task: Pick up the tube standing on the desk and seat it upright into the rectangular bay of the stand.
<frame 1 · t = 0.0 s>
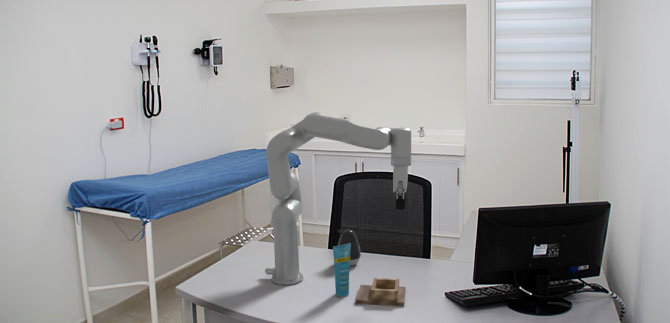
hand: (400, 205, 209), 31 cm above the table, tool pointing down, fingers open, 9 cm apart
tube stand: (381, 297, 203), on the table
dark grey egg-shaped piece: (348, 264, 238), on the table
tube: (342, 294, 206), on the table
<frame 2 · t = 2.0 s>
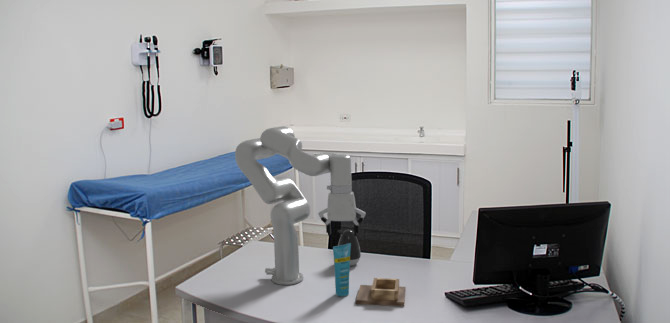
hand: (342, 234, 202), 23 cm above the table, tool pointing down, fingers open, 9 cm apart
nothing on the table moved.
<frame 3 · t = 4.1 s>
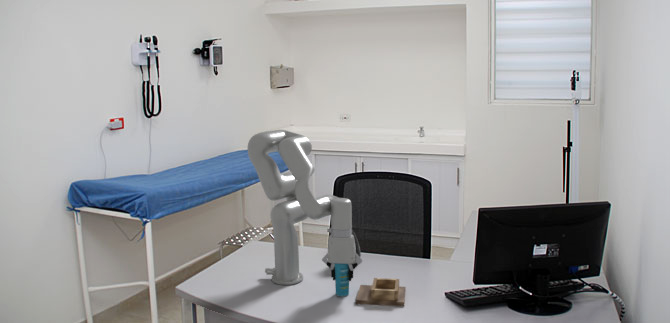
hand: (342, 278, 205), 6 cm above the table, tool pointing down, fingers closed on tube, 5 cm apart
tube: (342, 294, 206), on the table, touching gripper
everything else where it was.
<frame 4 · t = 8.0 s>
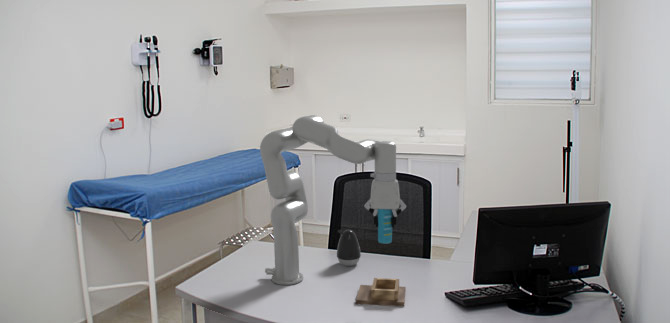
hand: (385, 226, 198), 27 cm above the table, tool pointing down, fingers closed on tube, 5 cm apart
tube: (385, 242, 199), point 21 cm above the table, touching gripper
everything else where it was.
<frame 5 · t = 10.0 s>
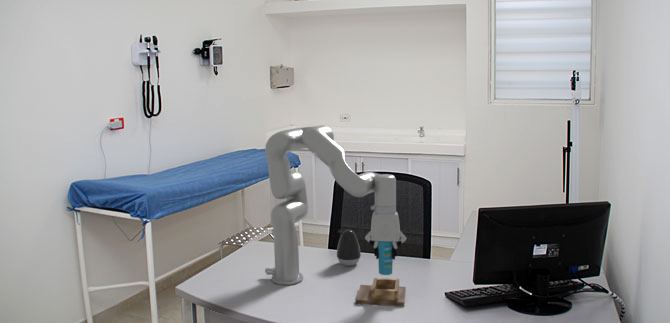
hand: (385, 257, 200), 15 cm above the table, tool pointing down, fingers closed on tube, 5 cm apart
tube: (385, 273, 201), point 9 cm above the table, touching gripper
everything else where it was.
when the fingers open (8 cm above the table, at t = 11.8 s): tube stays where it is, resting on tube stand.
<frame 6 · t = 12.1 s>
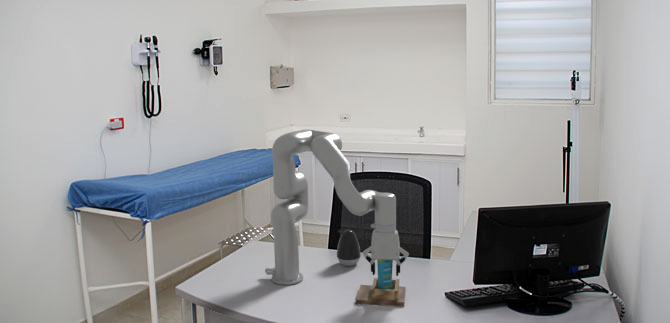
hand: (385, 273, 201), 9 cm above the table, tool pointing down, fingers open, 8 cm apart
tube: (385, 293, 203), point 1 cm above the table, touching tube stand
everything else where it was.
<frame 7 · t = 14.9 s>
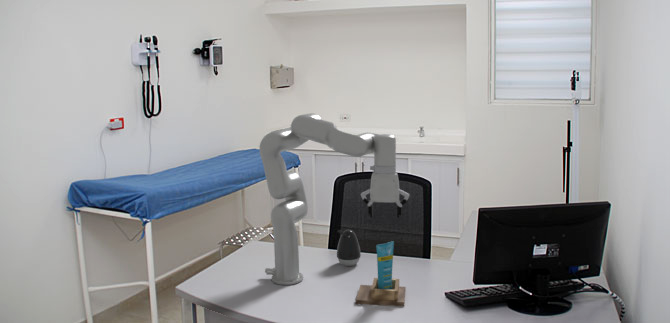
hand: (384, 216, 198), 30 cm above the table, tool pointing down, fingers open, 9 cm apart
nothing on the table moved.
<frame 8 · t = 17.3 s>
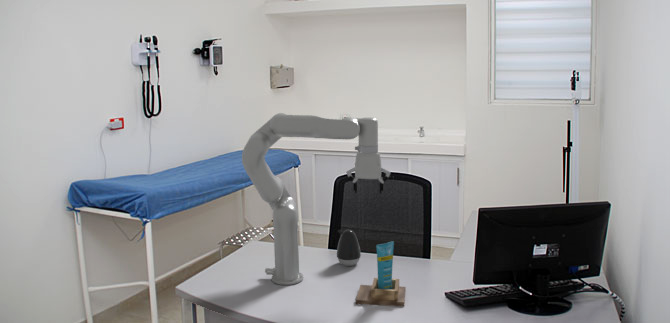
hand: (368, 192, 219), 34 cm above the table, tool pointing down, fingers open, 9 cm apart
nothing on the table moved.
at the end: tube 0.1 cm from the target spot, point 1.3 cm above the table; tube tilted 0°; the gripper is holding nothing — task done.
